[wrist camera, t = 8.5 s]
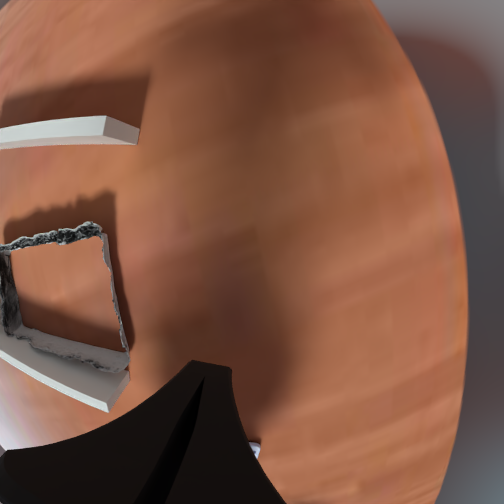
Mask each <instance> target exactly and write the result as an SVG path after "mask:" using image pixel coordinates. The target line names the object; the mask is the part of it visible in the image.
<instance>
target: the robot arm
mask: <svg viewBox="0 0 504 504" xmlns="http://www.w3.org/2000/svg"><path fill="white" fill-rule="evenodd" d="M259 452H260V444H258V443H253V442H248V439H247V437H246V434H245V432H244V429H243V426H242V424H241V421H240V418H239V414H238V411H237V407H236V403H235V399H234V394H233V388H232V370H231V369H230V367H226V366H221V365H215V364H210V363H205V362H200V361H195V360H192V361H190V362H189V363H188V364H187V365H186V366H185V367H184V368H183V369H182V370H181V371H180V372H179V373H178V374H177V375H176V376H174V377H173V378H172V379H171V380H170V381H169V382H168V383H167V384H165V385H164V386H163V387H162V388H161V389H159V390H158V391H157V392H156V393H155V394H153V395H152V396H151V397H149V398H148V399H146V400H145V401H144V402H142V403H141V404H139V405H138V406H137V407H135V408H134V409H132V410H131V411H129V412H127V413H126V414H124V415H122V416H121V417H119V418H117V419H115V420H113V421H111V422H110V423H108V424H105V425H103V426H101V427H99V428H97V429H94V430H92V431H90V432H87V433H85V434H82V435H79V436H77V437H73V438H70V439H67V440H63V441H60V442H56V443H53V444H48V445H44V446H38V447H31V448H23V449H14V450H7V451H6V452H5V453H4V454H3V455H2V456H1V457H0V502H1V503H2V504H286V502H285V501H284V500H283V499H282V497H281V496H280V494H279V493H278V492H277V490H276V489H275V487H274V486H273V484H272V483H271V482H270V480H269V479H268V477H267V476H266V474H265V472H264V471H263V469H262V467H261V465H260V464H259V462H258V460H257V458H258V455H259Z"/></svg>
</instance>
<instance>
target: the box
mask: <svg viewBox="0 0 504 504" xmlns="http://www.w3.org/2000/svg"><path fill="white" fill-rule="evenodd" d="M139 131H140V129H138V128H136V127H134V126H131V125H129V124H126V123H124V122H121V121H119V120H116V119H114V118H111V117H109V116H90V117H77V118H66V119H57V120H48V121H41V122H34V123H28V124H22V125H16V126H11V127H5V128H1V129H0V149H9V148H19V147H31V146H47V145H71V144H122V145H137V142H138V137H139ZM1 303H2V300H1V296H0V357H1V358H2V359H4V360H5V361H7V362H8V363H10V364H12V365H13V366H15V367H16V368H18V369H20V370H21V371H23V372H25V373H26V374H28V375H30V376H32V377H33V378H35V379H37V380H39V381H40V382H42V383H44V384H46V385H48V386H50V387H52V388H54V389H56V390H58V391H60V392H62V393H64V394H66V395H68V396H70V397H72V398H74V399H77V400H79V401H81V402H83V403H86V404H88V405H90V406H93V407H95V408H98V409H100V410H103V411H105V412H108V413H109V412H110V410H111V408H112V407H113V405H114V404H115V402H116V401H117V399H118V398H119V396H120V395H121V393H122V392H123V390H124V389H125V387H126V386H127V384H128V383H129V382H130V377H129V371H126V370H122V371H120V372H119V373H115V374H114V373H111V372H104V371H101V370H99V369H96V368H94V367H93V366H92V365H91V364H89V363H87V362H84V363H81V361H80V359H77V358H74V359H72V360H67V359H64V358H61V357H59V356H58V355H55V353H52V352H51V351H50V352H45V351H44V350H38V349H35V348H33V347H32V346H31V345H30V344H29V343H28V341H31V340H30V339H29V338H20V339H17V337H7V336H6V335H5V333H4V328H3V326H2V324H1Z"/></svg>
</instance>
